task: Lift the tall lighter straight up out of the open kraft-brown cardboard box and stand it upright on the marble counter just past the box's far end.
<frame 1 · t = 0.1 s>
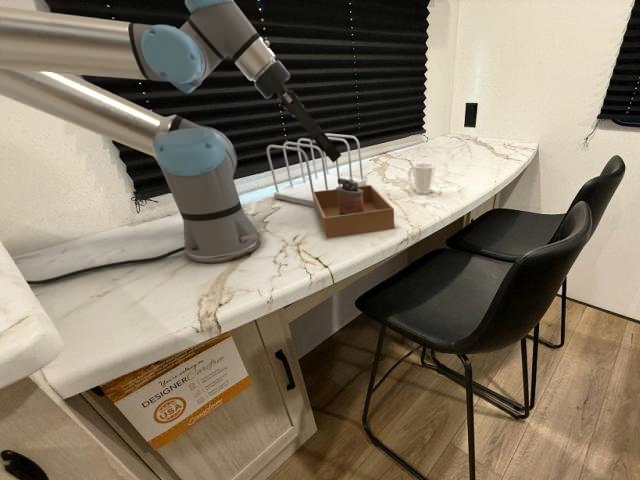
hand: (332, 153, 83), 15 cm above the counter, tool tilted 35°, fingers open, 13 cm apart
cup: (420, 191, 106), on the counter
file sorter: (322, 192, 107), on the counter
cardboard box: (352, 217, 88), on the counter
lighter: (352, 218, 88), resting on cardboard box
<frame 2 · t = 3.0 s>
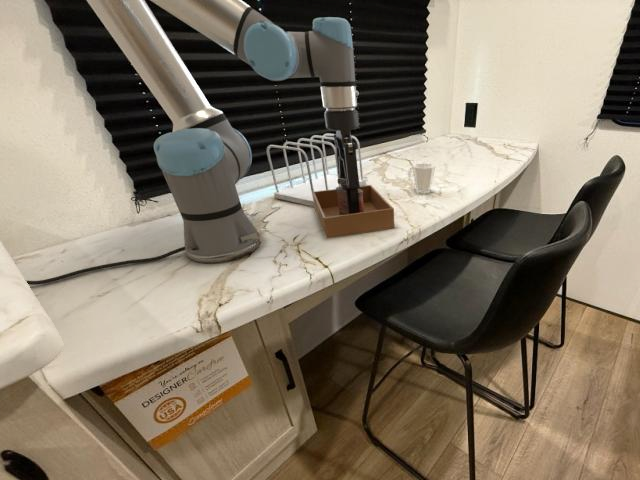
hand: (351, 208, 86), 3 cm above the counter, tool pointing down, fingers closed on lighter, 7 cm apart
lighter: (352, 218, 88), resting on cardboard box, touching gripper
everything else where it was.
when the fingers open (2 cm above the counter, at t = 10.5 s): lighter stays where it is, on the counter.
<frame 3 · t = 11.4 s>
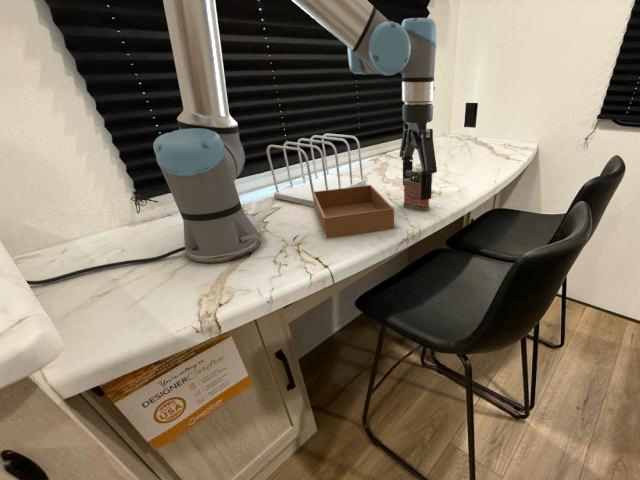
hand: (416, 191, 91), 5 cm above the counter, tool pointing down, fingers open, 13 cm apart
lighter: (416, 208, 93), on the counter
everything else where it was.
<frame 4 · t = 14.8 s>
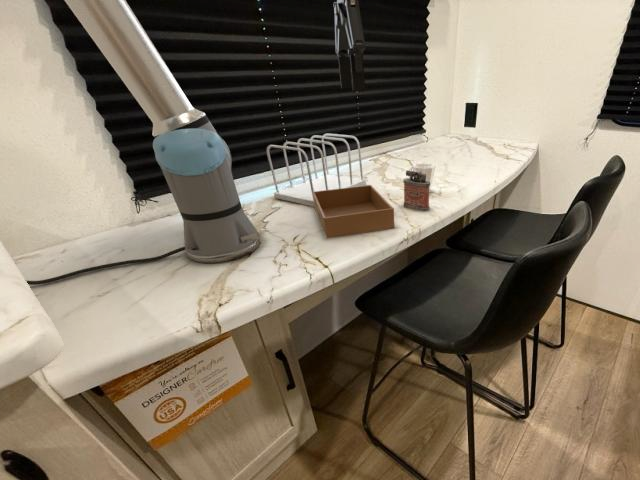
hand: (352, 89, 79), 29 cm above the counter, tool pointing down, fingers open, 13 cm apart
nothing on the counter moved.
at the end: lighter inside the target area (0.1 cm from its centre), on the counter; lighter tilted 0°; the gripper is holding nothing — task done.
